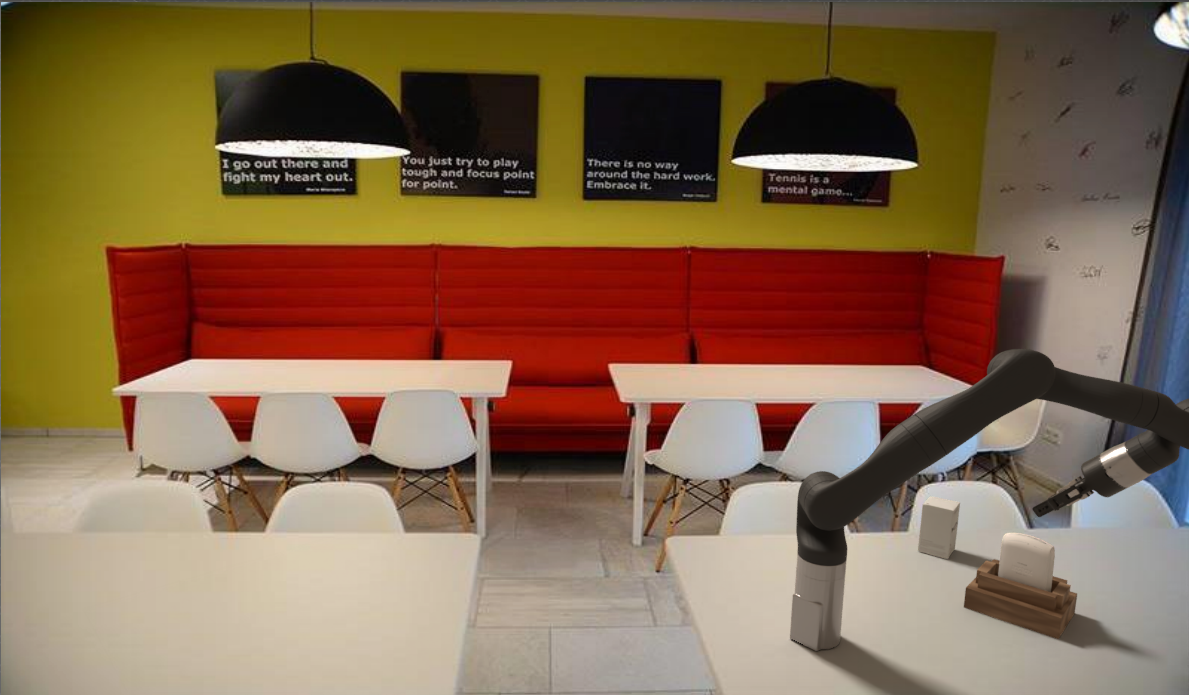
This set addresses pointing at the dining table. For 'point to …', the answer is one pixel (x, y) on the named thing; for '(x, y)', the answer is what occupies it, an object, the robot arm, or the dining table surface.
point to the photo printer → (1027, 560)
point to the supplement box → (938, 527)
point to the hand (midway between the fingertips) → (1043, 507)
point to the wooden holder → (1021, 601)
